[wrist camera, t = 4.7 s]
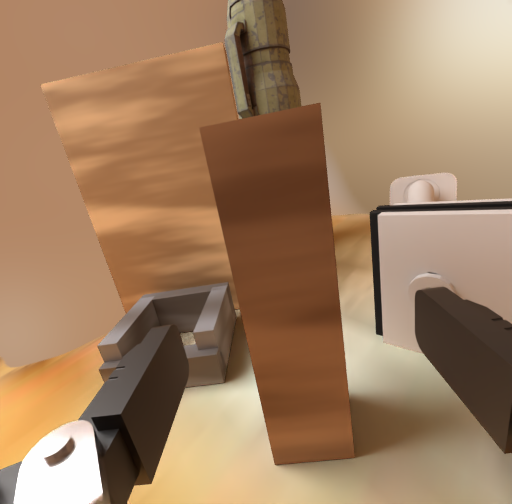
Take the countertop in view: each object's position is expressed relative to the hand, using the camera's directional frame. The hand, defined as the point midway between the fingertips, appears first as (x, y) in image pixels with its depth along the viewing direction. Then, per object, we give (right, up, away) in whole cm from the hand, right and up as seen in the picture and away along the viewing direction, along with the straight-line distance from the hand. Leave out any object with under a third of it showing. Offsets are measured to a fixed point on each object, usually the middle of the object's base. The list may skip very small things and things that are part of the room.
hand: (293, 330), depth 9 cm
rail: (+2, -7, +8) cm, 10 cm away
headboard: (-8, -6, +17) cm, 19 cm away
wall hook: (+22, +4, +30) cm, 37 cm away
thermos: (+4, +3, +36) cm, 36 cm away
